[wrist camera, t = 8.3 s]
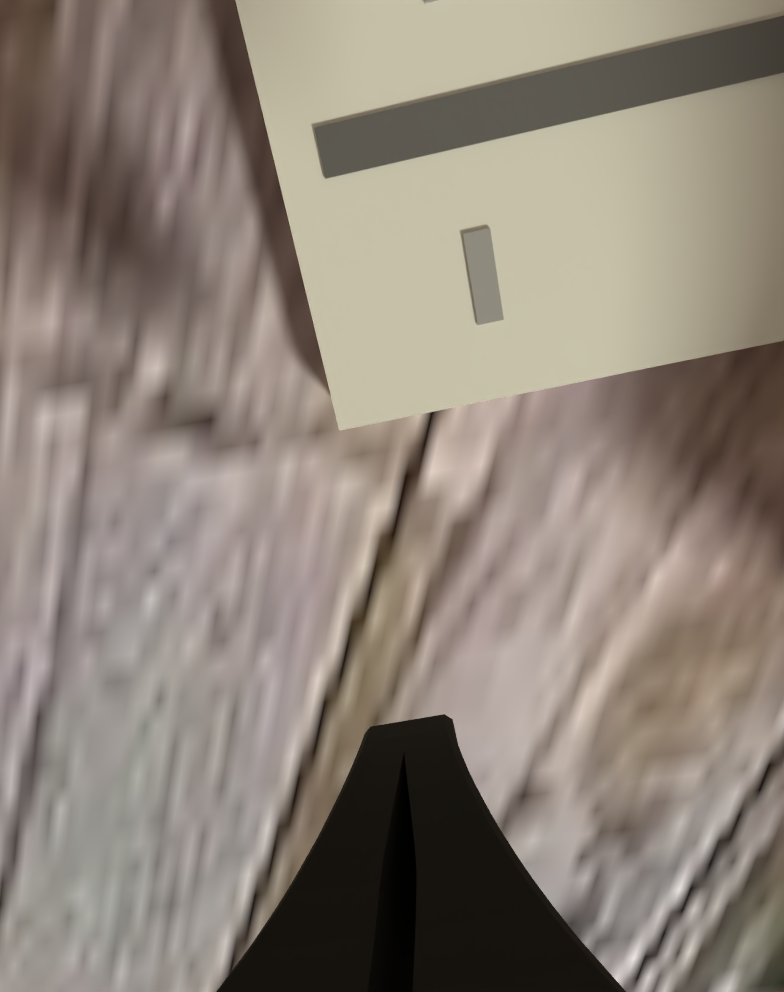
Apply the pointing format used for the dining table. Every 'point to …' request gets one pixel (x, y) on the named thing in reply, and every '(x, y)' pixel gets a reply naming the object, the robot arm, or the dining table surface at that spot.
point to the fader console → (524, 187)
